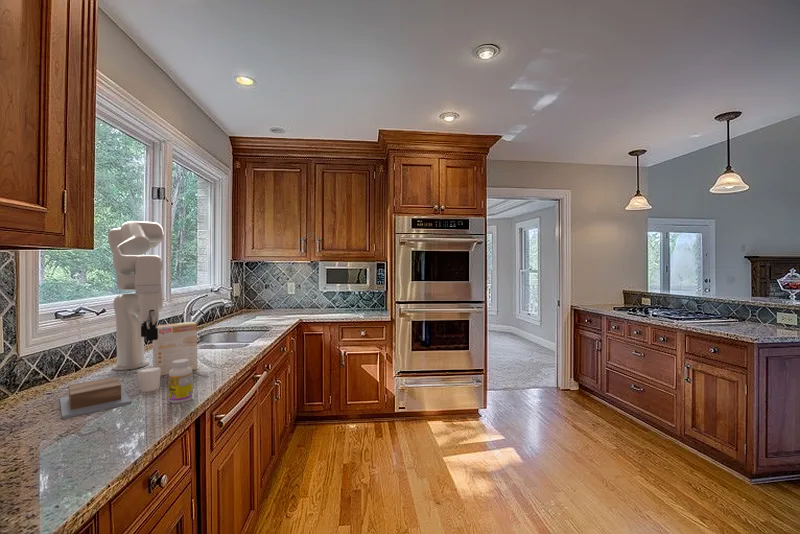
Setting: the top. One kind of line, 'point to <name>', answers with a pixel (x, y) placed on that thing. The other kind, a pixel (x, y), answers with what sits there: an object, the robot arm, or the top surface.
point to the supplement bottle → (180, 382)
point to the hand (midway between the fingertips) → (149, 338)
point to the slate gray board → (67, 412)
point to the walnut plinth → (94, 393)
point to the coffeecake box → (175, 345)
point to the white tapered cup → (149, 378)
